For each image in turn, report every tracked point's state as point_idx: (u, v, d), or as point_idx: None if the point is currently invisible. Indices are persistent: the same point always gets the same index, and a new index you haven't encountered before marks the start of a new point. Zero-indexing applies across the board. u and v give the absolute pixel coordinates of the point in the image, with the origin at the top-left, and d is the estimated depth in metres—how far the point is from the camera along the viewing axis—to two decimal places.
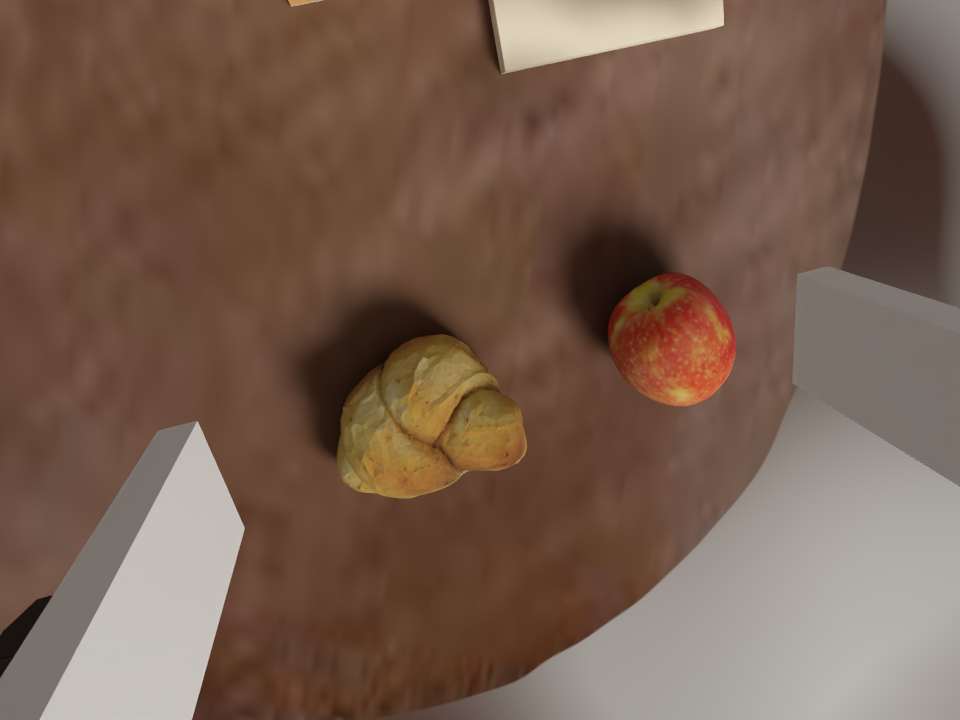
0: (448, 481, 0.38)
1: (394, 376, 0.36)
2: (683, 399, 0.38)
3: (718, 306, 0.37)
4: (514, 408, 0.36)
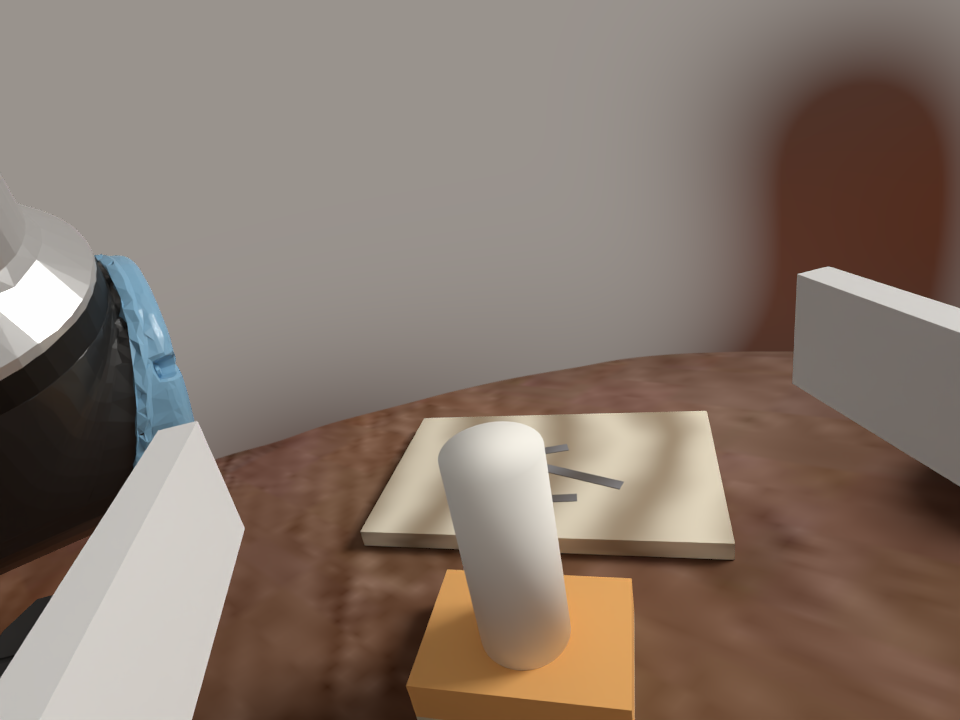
0: None
1: None
2: None
3: None
4: None
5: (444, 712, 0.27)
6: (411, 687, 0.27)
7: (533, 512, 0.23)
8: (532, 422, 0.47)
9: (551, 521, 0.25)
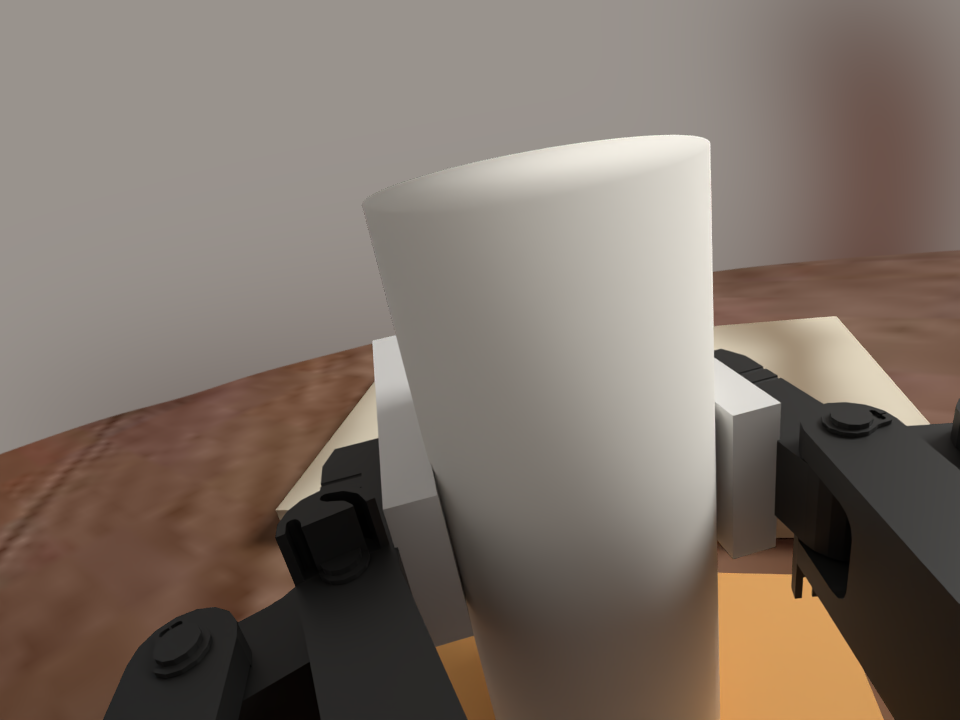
0: None
1: None
2: None
3: None
4: None
5: None
6: None
7: (683, 344, 0.07)
8: None
9: (714, 398, 0.08)
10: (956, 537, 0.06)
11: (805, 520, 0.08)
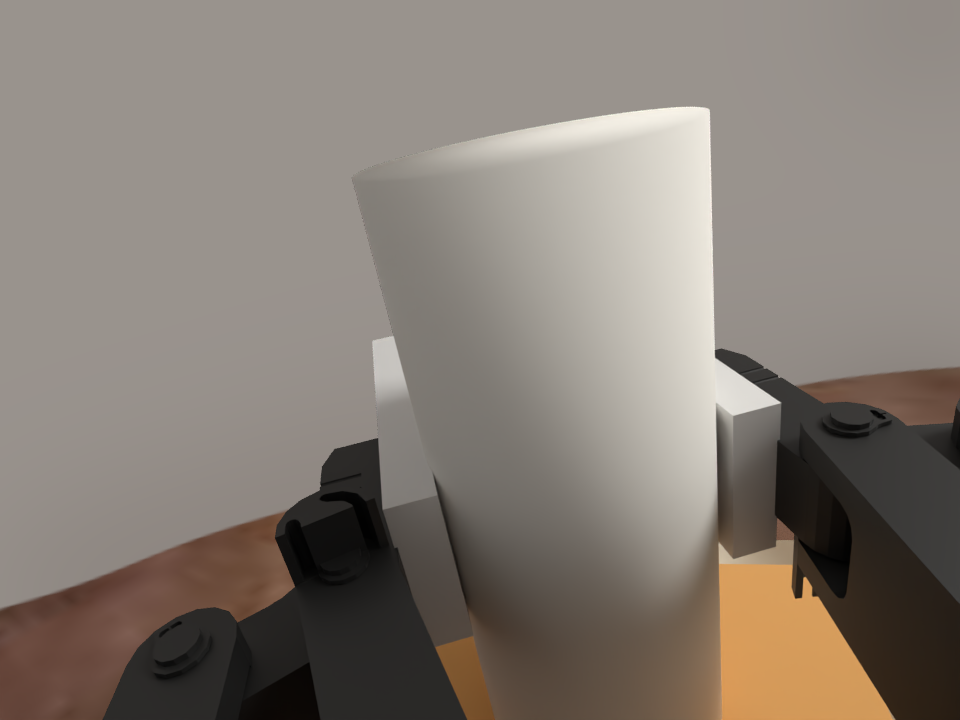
0: None
1: None
2: None
3: None
4: None
5: None
6: None
7: (683, 317, 0.07)
8: None
9: (714, 377, 0.08)
10: (956, 537, 0.06)
11: (805, 520, 0.08)
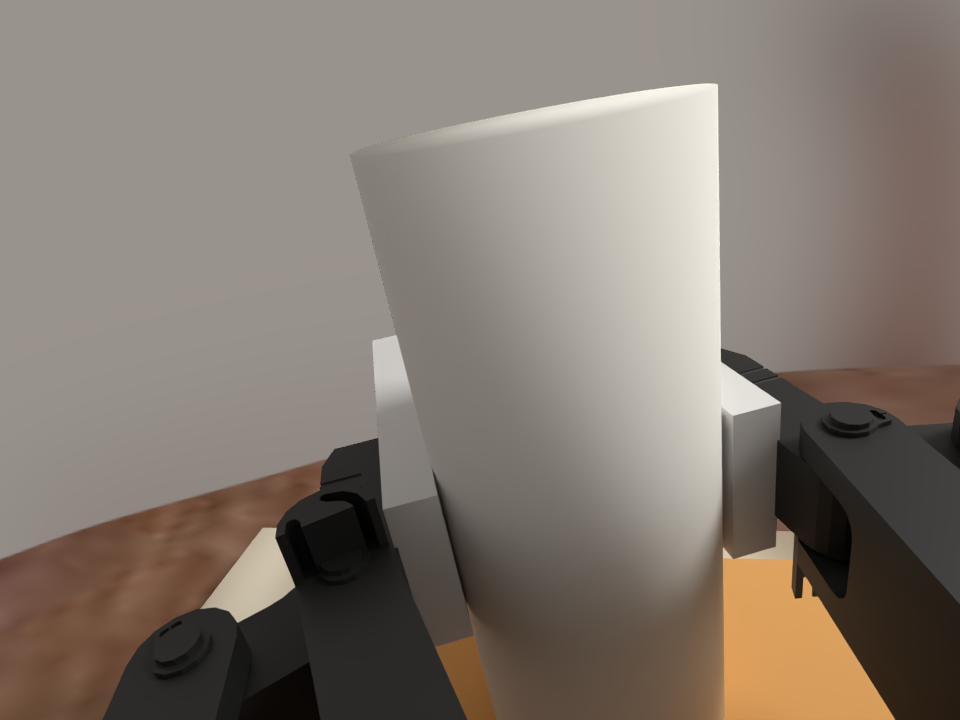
0: None
1: None
2: None
3: None
4: None
5: None
6: None
7: (688, 298, 0.06)
8: None
9: (720, 362, 0.08)
10: (956, 537, 0.06)
11: (805, 520, 0.08)
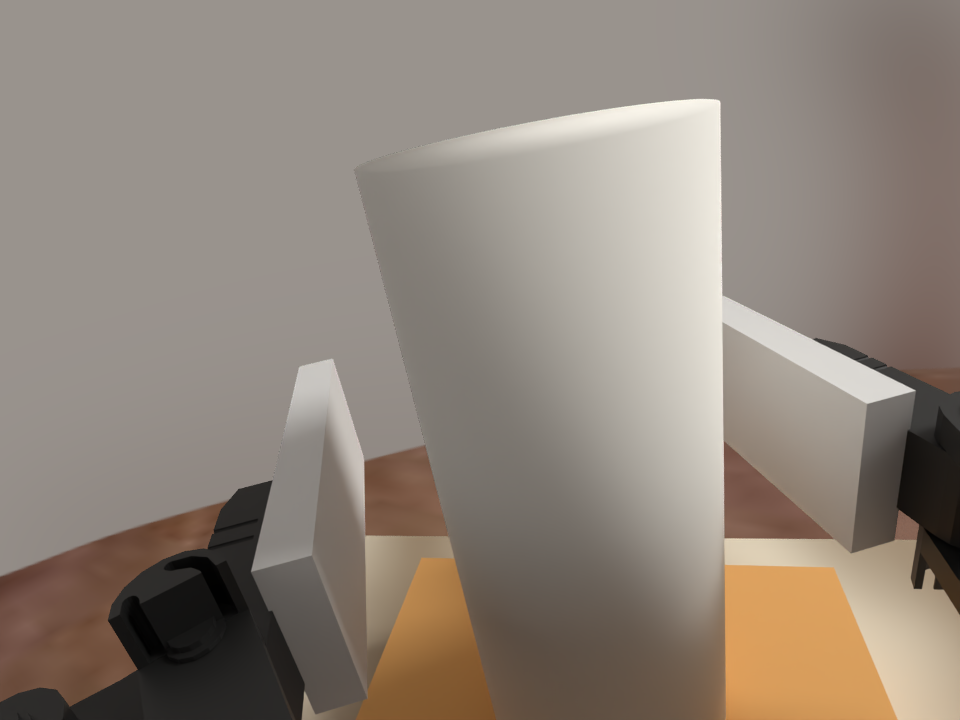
0: None
1: None
2: None
3: None
4: None
5: None
6: None
7: (691, 314, 0.06)
8: None
9: (722, 375, 0.08)
10: None
11: (934, 507, 0.08)
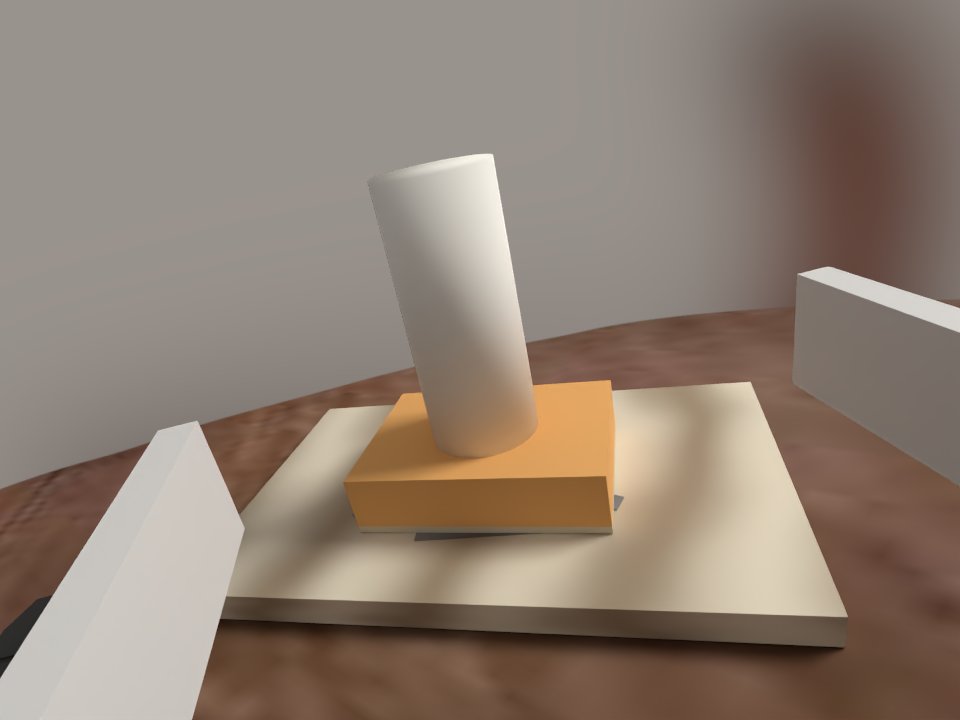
0: None
1: None
2: None
3: None
4: None
5: (390, 514, 0.23)
6: (349, 483, 0.23)
7: (480, 228, 0.19)
8: None
9: (505, 257, 0.21)
10: None
11: None
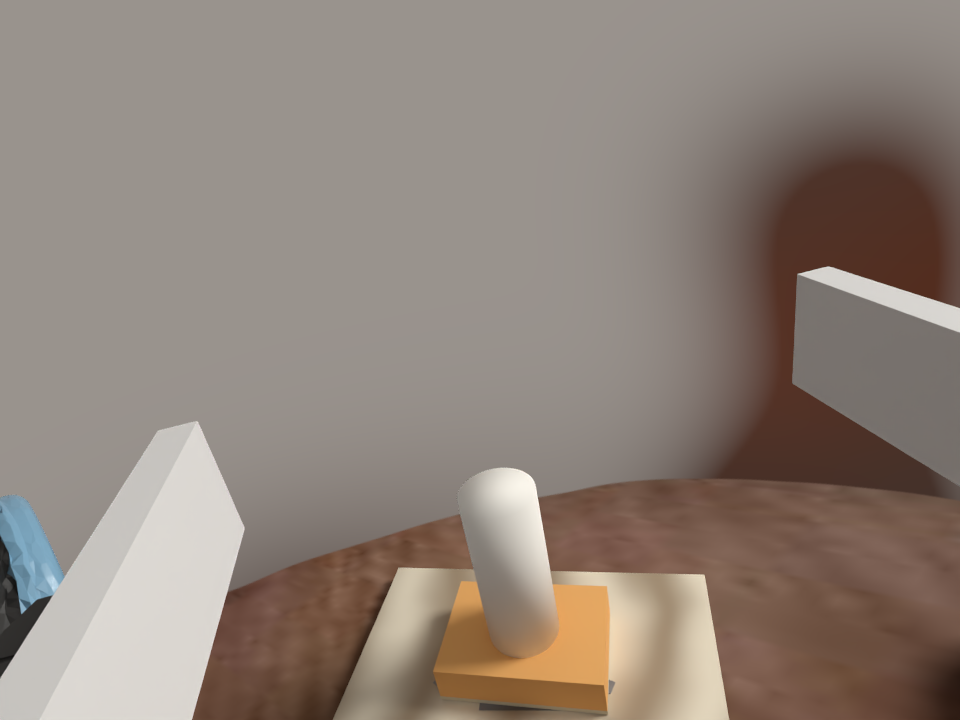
0: None
1: None
2: None
3: None
4: None
5: (462, 691, 0.35)
6: (437, 672, 0.35)
7: (528, 538, 0.31)
8: None
9: (542, 544, 0.33)
10: None
11: None
